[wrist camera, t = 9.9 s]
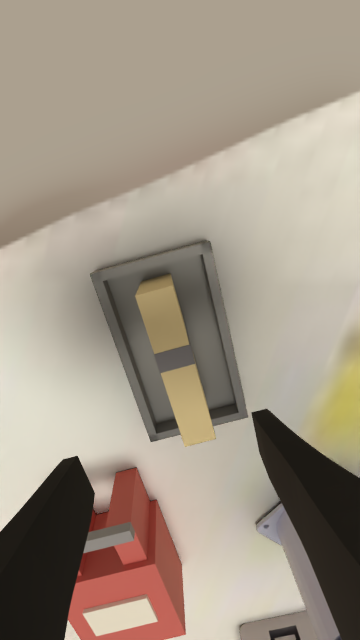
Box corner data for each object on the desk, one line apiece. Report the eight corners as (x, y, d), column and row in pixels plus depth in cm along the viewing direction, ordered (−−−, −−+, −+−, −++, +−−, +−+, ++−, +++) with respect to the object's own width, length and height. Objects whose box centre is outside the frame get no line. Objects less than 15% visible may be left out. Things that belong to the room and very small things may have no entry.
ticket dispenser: (52, 488, 24) (23, 557, 19) (143, 465, 24) (138, 529, 19) (104, 583, 28) (91, 661, 23) (181, 564, 28) (185, 638, 23)
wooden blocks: (140, 281, 18) (134, 296, 14) (170, 273, 18) (173, 285, 14) (180, 406, 21) (184, 447, 17) (206, 399, 21) (216, 439, 17)
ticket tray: (95, 270, 18) (89, 274, 17) (206, 240, 18) (210, 241, 17) (151, 427, 22) (150, 442, 21) (242, 404, 22) (248, 417, 21)
